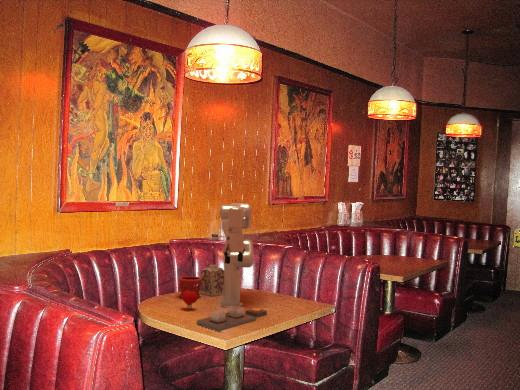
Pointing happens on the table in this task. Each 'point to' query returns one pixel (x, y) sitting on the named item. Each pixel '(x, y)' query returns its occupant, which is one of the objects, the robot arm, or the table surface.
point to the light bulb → (189, 298)
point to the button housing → (256, 313)
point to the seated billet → (236, 312)
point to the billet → (217, 317)
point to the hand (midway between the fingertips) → (233, 262)
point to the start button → (256, 310)
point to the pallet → (227, 324)
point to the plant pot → (190, 284)
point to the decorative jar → (212, 281)
